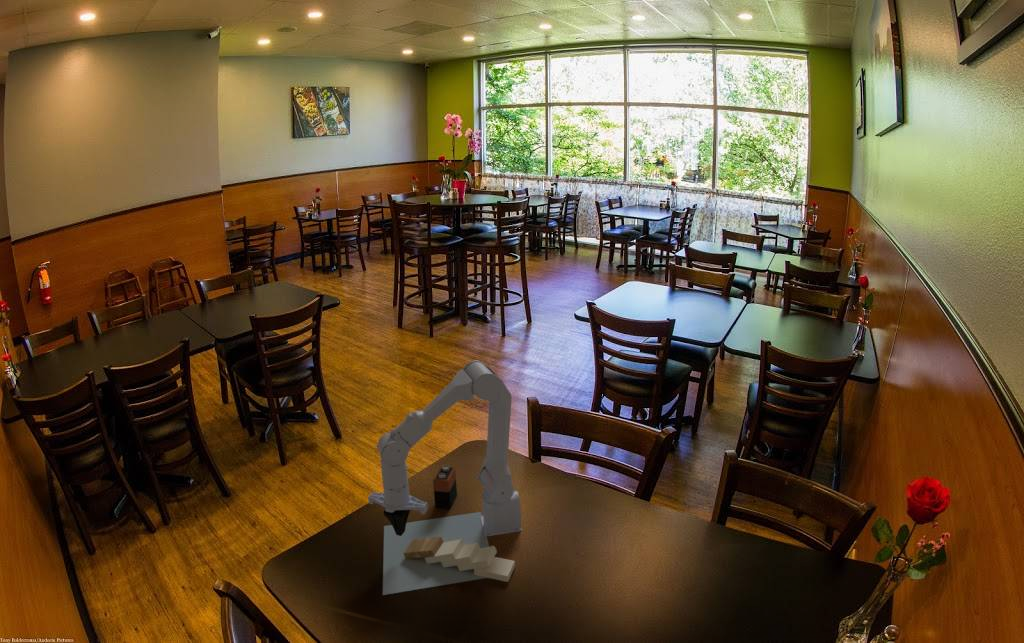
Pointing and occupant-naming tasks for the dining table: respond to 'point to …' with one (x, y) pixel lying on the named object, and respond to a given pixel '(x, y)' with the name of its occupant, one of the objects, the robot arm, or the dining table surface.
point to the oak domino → (423, 547)
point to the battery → (445, 487)
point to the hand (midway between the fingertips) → (400, 532)
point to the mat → (416, 570)
